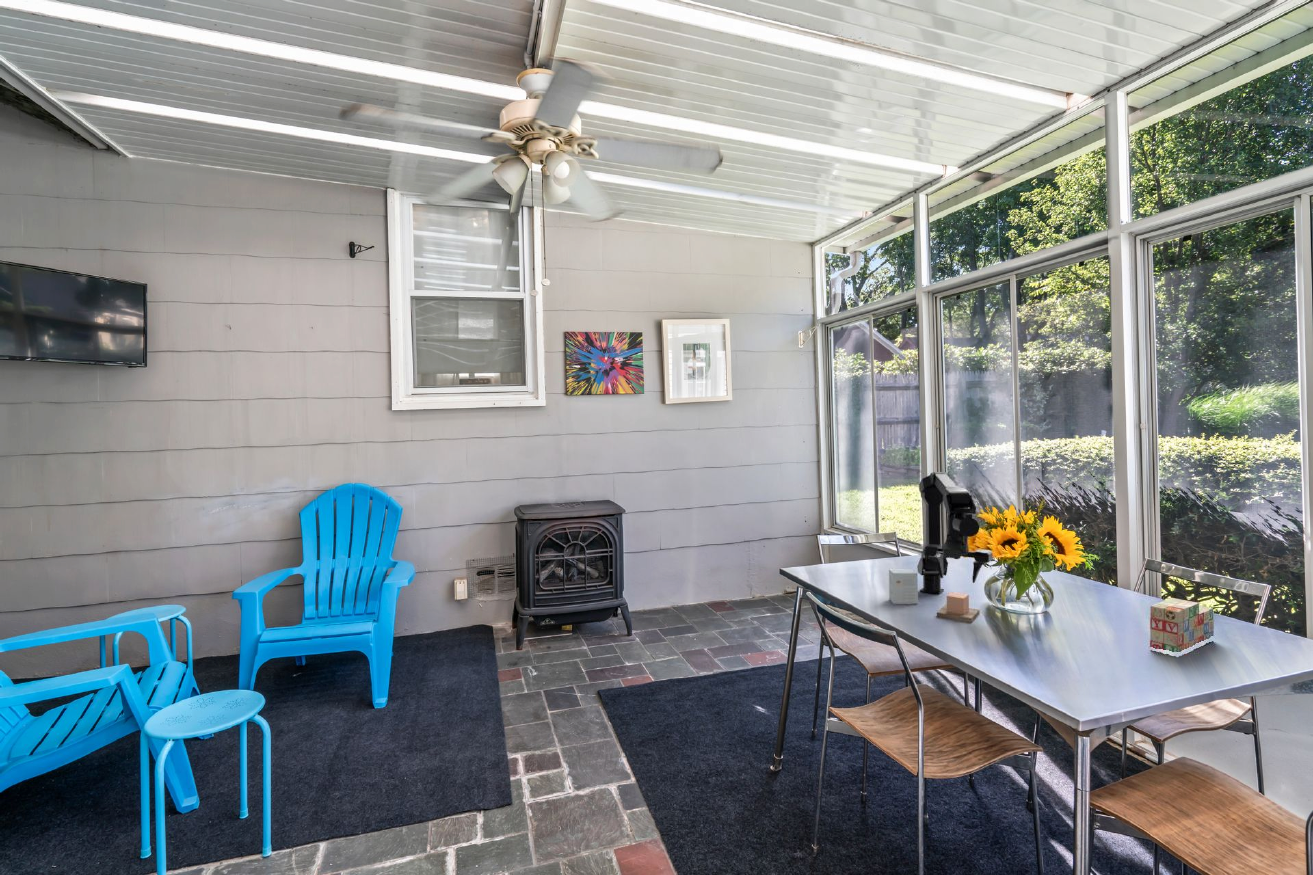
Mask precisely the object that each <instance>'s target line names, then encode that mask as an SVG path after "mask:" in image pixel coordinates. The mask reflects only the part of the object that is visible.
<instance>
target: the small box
mask: <svg viewBox="0 0 1313 875" xmlns="http://www.w3.org/2000/svg"><path fill="white" fill-rule="evenodd" d="M918 581H919V580H918V572H917V571H916V570H914V569H913V568H900V569H899V568H897V569H896V568H895V569H893V568H888V588H889V589H888V590H889V591H888V592H889V593H888V595H889V601H891V603H892V604H893V605H918V604H919V602H918V601H919V597H918V596H919V595H918V593H919V591H918V588H919V587H918V586H919V584H918V583H919V582H918Z"/></svg>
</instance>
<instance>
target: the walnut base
mask: <svg viewBox="0 0 1313 875" xmlns="http://www.w3.org/2000/svg"><path fill="white" fill-rule="evenodd" d="M980 611H981V610H980V609H978V608H977V609H976V608H971V607H969V611H968V612H967V613H965V614H964V615H963V614H957V613H952V612H947V603H946V604H944V606H943V605H942V607H941V608H939V610H938V611H937V612H936V618H939V619H940V618H941V619H946V620H952V621H958V622H959V621H960V622H963V621H965V623H969V624H972V623H974V622H975V620H976V619H977V618H978V617H979V616H980V613H981V612H980ZM978 615H979V616H978Z"/></svg>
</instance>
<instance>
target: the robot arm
mask: <svg viewBox="0 0 1313 875" xmlns="http://www.w3.org/2000/svg"><path fill="white" fill-rule="evenodd" d="M918 492H919V493H920V497H921V499H922V501H923V502H924V504H925V538H926V539H925V543H926V544H925V546H924V548H923V550H922V551H921V553H920V558H919V561H918V564H917V565H916V566H917V568H916V569H917V574H920V576H922V579H923V580H922V588H921V589H919V592H921V593H927V594H934V595H941V593H943V592H945V589H944V588H942V584H941V583H942V582H941V580H942V579H943V578H944V576H947V574H948V567H949V562H948V559H954V560H959V559H961V557H965V558H973V559H974V561H973V562H972V563H973V569H972V570H973V571H972V578H971V579H972V583H973V584H974V583H975V582H976V580H977V578H978V575H979V572H980V570H981V568H982V566H984V565H986V564H987V563H990V562H991V561H993V556H994V554H993V552H992V551H991V550H990V549H983V548H980V549H979V548H978V549H977V550H975V551H971V550H969V544H968V543H969V538H971V537H974V536H976V535H977V534H978V533H979V531H980V524H979V522H978V521H977V520H976V519H975V518H973V515H976V514H977V511H976V510H977V507H976V504H975V501H974V498H973V497H972V494H971V493H970V491H968V490H967V489H966V488H964V487H959V486H957V485H956V484H955V482H954V481H953V479H951V478H950V477H949V474H948V472H946V471H932V472H930V474H929V475H926V477H923V478H921V480H920V482H919V485H918ZM942 503H943V506H944V509H945V510H946V514H947V533H946V539H945V542H944V543H943V546H942V545H941V505H942Z"/></svg>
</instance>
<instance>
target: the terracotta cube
mask: <svg viewBox="0 0 1313 875" xmlns="http://www.w3.org/2000/svg"><path fill="white" fill-rule="evenodd" d="M969 596H970V595H969V594H966V593H961V592H960V593H959V592H954V591H953V592H952V591H951V592H950V593H948V594H947V595H946V605H947V612H952V613H957V614H963V615H964V614H965V613H967V612H968V611H969V608H970V604H969V603H970V602H969V601H970V597H969Z"/></svg>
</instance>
